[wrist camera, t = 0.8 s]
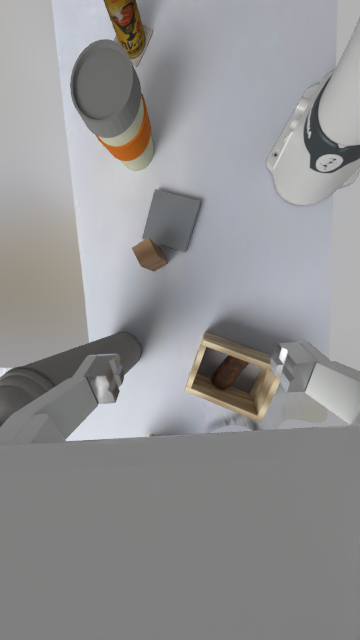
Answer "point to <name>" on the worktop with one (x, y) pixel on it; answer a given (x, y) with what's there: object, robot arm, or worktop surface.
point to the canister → (59, 371)
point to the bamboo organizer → (232, 397)
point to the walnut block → (149, 255)
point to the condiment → (128, 27)
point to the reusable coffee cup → (113, 102)
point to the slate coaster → (171, 220)
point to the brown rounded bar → (228, 372)
